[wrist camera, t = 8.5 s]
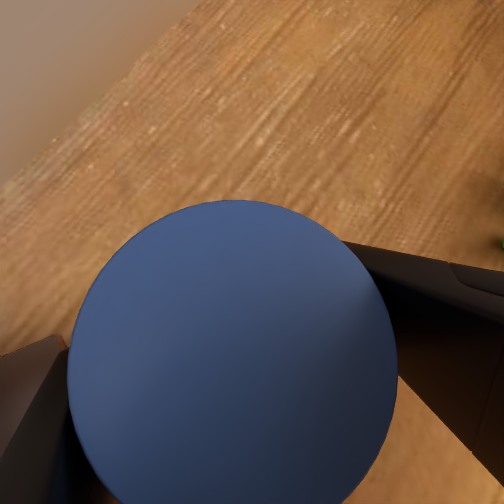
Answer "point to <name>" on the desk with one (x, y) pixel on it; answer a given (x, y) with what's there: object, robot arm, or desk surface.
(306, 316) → the peg
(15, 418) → the brown slotted stand
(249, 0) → the desk surface
